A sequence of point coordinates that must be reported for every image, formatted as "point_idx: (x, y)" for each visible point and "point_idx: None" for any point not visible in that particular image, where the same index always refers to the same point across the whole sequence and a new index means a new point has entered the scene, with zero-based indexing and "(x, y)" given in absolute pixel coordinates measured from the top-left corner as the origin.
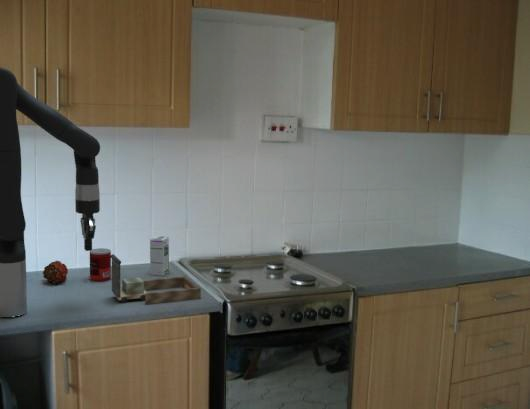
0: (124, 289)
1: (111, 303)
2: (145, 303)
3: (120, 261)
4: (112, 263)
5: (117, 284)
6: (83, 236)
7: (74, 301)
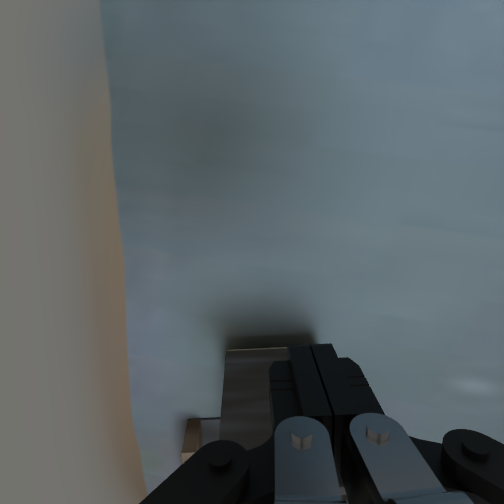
0: None
1: (253, 319)
2: (195, 423)
3: None
4: None
5: (223, 385)
6: (373, 431)
7: (328, 190)
